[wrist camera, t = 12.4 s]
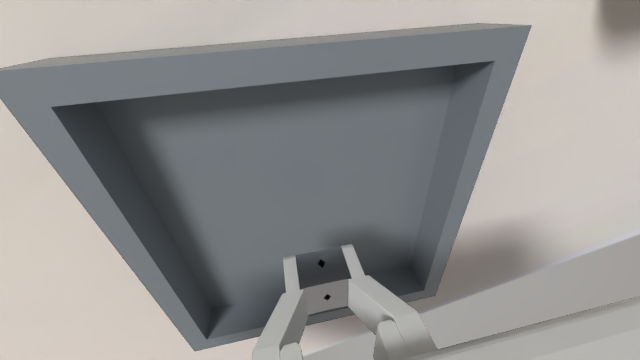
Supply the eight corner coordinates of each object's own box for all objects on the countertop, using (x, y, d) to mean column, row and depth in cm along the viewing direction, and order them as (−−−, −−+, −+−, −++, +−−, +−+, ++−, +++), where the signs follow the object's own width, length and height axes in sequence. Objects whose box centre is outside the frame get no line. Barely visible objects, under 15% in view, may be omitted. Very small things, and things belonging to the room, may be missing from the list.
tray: (478, 23, 10) (531, 25, 8) (416, 266, 19) (435, 295, 17) (49, 58, 8) (-21, 72, 6) (202, 311, 17) (194, 351, 15)
